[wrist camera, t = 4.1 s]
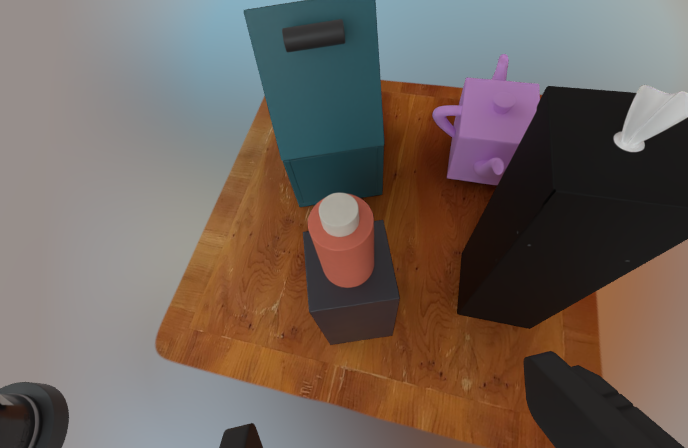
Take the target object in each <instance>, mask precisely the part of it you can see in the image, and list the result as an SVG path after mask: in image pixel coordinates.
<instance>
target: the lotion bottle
mask: <svg viewBox="0 0 688 448" xmlns="http://www.w3.org/2000/svg"><path fill="white" fill-rule="evenodd" d="M308 229H309V233H310V235H311V238H312V241H313V244H314V246H315V249H316V252H317V255H318V257H319V260H320V263H321V265H322V268H323V271H324V273H325V275H326V277H327V278H328V279H329V281H331V282H332V283H333V284H335V285H337V286H340V287H344V288H351V287H356V286H359V285H361V284H362V283H364V282H365V281H366V280H367V279H368V278H369V277H370V276H371V274H372V272H373V269H374V217H373V213H372V211H371V209H370V207H369V206H368V204H367V203H366V202H365V201H364V200H362V199H361V198H359V197H357V196H354V195H351V194H346V193H333V194H331V195H329V196H327V197H325V198H324V199H322V200H321V201H319V202H318V203H317V204H316V205H315V206H314V207H313V209H312V211H311V213H310V215H309V218H308Z"/></svg>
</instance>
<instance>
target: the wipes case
mask: <svg viewBox="0 0 688 448" xmlns="http://www.w3.org/2000/svg"><path fill="white" fill-rule="evenodd" d="M383 156H384V145H380V146H374V147H367V148H361V149H354V150H348V151H341V152H335V153H328V154H322V155H315V156H309V157H302V158H296V159H289V160H283V163H284V166H285V169H286V172H287V174H288V177H289V180H290V182H291V185H292V188H293V191H294V193H295V196H296V199H297V201H298V204H299V207H304V206H310V205H316V204H317V203H318V202H319V201H321V200H322V199H324V198H325V197H327V196H329V195H331V194H333V193H346V194H351V195H354V196H357V197H359V198H363V197H370V196H376V195H382V192H383Z"/></svg>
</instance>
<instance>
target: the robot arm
mask: <svg viewBox="0 0 688 448" xmlns="http://www.w3.org/2000/svg"><path fill="white" fill-rule="evenodd" d="M524 375H525V388H526V400H527V404H528V407H529V410H530V412H531V414H532V416H533V418H534V420H535V421H536V423H537V424H538V426H539V427H540V428H541V429H542V431H543V432H544V433H545V435H546V436H547V437H548V438H549V440H550V441H551V442H552V444H553V445H554V446H555V447H556V448H684V447H683V446H682V445H681V444H680V443H678V442H677V441H676V440H675V439H674V438H673V437H671V436H670V435H669V434H668V433H667V432H665V431H664V430H663V429H662V428H661V427H660V426H658V425H657V424H656V423H655V422H654V421H652V420H651V419H650V418H649V417H648V416H646V415H645V414H644V413H643V412H642V411H641V410H639V409H638V408H637V407H634V406H633V404H632V403H631V402H630V401H629V400H628V399H626V398H625V397H624V396H623V395H622V394H619V393H618V391H617V390H616V389H615V388H613V387H612V386H611V385H610V384H609V383H607V382H606V381H605V380H604V379H603V378H602V377H600V376H599V375H597V374H595V373H593V372H591V371H589V370H587V369H585V368H583V367H581V366H579V365H577V366H573V367H570V366H569V365H568V364H567V363H566V362H565V361H564V360H562V359H561V358H560V357H559V356H558V355H557V354H556V353H554V352H552V351H549V352H545V353H541V354H537V355H533V356H529V357H525V358H524ZM41 429H42V413H41V409H40V407H39V405H38V403H37V402H36V400H34V399H33V398H32V397H30V396H28V395H25V394H14V393H11V394H0V448H35V447H36V445H37V443H38V440H39V437H40V434H41ZM219 448H263V446H262V444H261V441H260V438H259V435H258V432H257V430H256V427H255V425H254V424H253V423H251V424H247V425H243V426H239V427H235V428H231V429H227V430H226V431H225V432H224V434H223V437H222V441H221V444H220V447H219Z"/></svg>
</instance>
